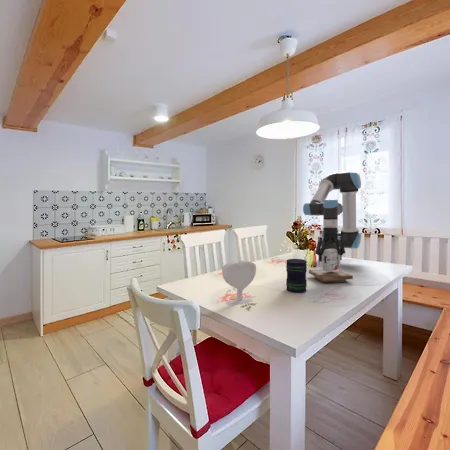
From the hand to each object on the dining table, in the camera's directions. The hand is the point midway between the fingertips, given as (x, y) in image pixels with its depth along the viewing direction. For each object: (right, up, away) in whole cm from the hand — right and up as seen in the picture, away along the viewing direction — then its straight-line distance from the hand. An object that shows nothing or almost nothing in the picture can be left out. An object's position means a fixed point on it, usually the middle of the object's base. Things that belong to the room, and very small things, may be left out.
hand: (329, 266), depth 152 cm
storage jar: (-23, -9, -17) cm, 31 cm away
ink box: (0, -2, 0) cm, 2 cm away
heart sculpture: (-53, -11, -32) cm, 62 cm away
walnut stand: (0, -7, +1) cm, 7 cm away
